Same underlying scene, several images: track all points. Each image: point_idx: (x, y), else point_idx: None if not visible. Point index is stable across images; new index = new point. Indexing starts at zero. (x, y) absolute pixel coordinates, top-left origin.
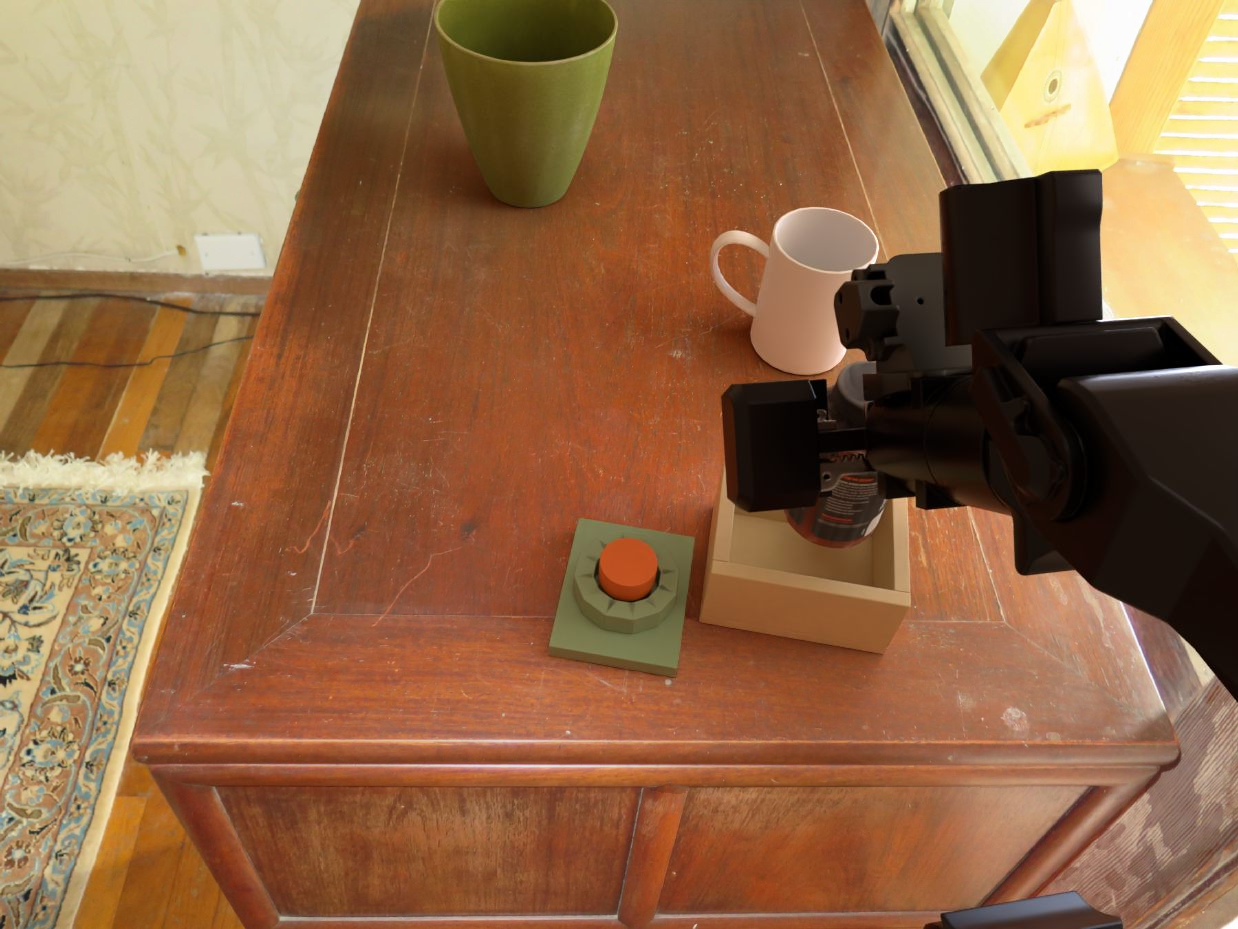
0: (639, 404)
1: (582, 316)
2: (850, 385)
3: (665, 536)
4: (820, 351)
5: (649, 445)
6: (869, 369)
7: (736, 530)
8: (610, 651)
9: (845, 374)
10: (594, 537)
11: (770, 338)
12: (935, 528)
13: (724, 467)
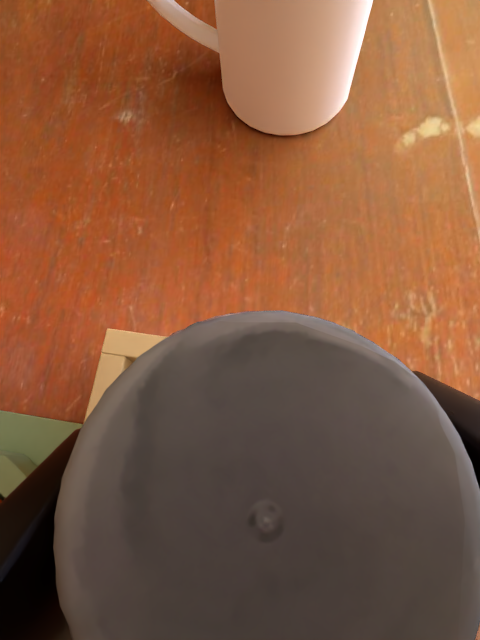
0: (67, 198)
1: (13, 70)
2: (116, 535)
3: (56, 428)
4: (306, 101)
5: (71, 262)
6: (257, 381)
7: None
8: None
9: (111, 434)
10: None
11: (236, 86)
12: (452, 376)
13: (100, 358)
